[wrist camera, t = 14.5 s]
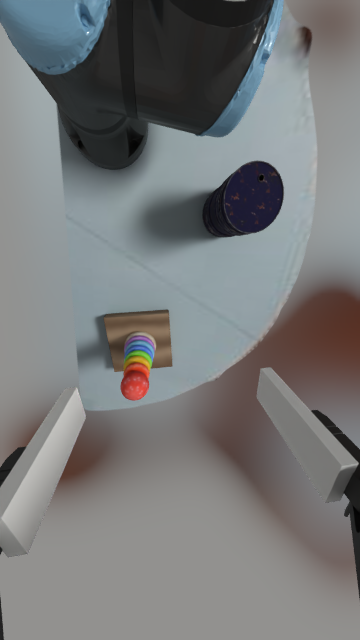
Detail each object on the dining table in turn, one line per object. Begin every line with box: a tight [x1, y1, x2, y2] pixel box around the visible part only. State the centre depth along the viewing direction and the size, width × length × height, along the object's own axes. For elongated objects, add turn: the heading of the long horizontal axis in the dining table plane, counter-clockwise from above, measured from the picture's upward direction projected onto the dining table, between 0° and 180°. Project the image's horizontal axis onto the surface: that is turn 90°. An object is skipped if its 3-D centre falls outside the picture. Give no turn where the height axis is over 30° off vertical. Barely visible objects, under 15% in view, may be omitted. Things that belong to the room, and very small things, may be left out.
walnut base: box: [104, 310, 172, 372], centre depth 51 cm, size 16×16×3 cm
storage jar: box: [203, 161, 284, 237], centre depth 36 cm, size 10×10×15 cm
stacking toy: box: [121, 332, 156, 400], centre depth 41 cm, size 8×8×19 cm
